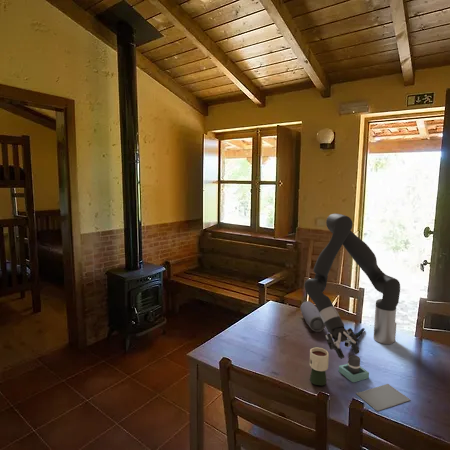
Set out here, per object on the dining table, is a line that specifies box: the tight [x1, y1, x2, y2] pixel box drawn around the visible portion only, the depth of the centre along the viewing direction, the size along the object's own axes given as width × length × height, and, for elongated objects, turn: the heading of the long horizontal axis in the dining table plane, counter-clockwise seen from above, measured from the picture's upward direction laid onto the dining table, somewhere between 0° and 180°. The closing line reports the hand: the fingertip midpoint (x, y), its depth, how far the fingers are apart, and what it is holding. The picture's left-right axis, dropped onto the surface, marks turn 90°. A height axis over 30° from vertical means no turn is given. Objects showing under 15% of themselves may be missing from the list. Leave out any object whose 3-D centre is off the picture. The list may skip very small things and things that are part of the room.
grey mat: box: [355, 383, 411, 412], centre depth 119 cm, size 16×10×1 cm, turn 111°
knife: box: [344, 327, 365, 348], centre depth 161 cm, size 31×3×4 cm, turn 137°
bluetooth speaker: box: [299, 300, 326, 333], centre depth 179 cm, size 23×9×10 cm, turn 179°
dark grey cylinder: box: [347, 354, 361, 375], centre depth 132 cm, size 5×5×8 cm
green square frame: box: [338, 363, 370, 383], centre depth 133 cm, size 8×8×2 cm
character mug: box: [309, 347, 330, 386], centre depth 127 cm, size 11×7×13 cm, turn 153°
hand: (350, 355), depth 134 cm, fingers open, 8 cm apart
